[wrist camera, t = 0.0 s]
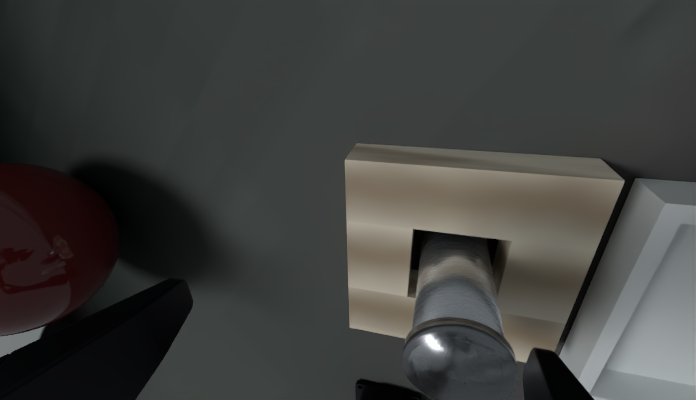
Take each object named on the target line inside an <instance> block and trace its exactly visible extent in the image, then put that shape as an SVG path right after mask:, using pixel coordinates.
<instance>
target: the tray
mask: <svg viewBox="0 0 696 400" xmlns="http://www.w3.org/2000/svg"><path fill="white" fill-rule="evenodd" d="M559 357H560V359H561V360H562V361H563V362H564V363H565V365H566V366H567V367H568V368H569V369H570V371H571V372H572V373H573V374H574V375H575V377H576V378H577V379H578V380H579V381H580V383H581V384H582V385H583V386H584V387H585V389H586V390H587V391H588V392H589V394H590V395H591V396H592V397H593V398H594V400H696V182H684V181H670V180H657V179H643V178H635V180H634V182H633V185H632V187H631V189H630V192H629V194H628V196H627V199H626V201H625V203H624V206H623V208H622V210H621V213H620V215H619V217H618V220H617V222H616V225H615V227H614V229H613V232H612V234H611V236H610V239H609V241H608V243H607V246H606V248H605V250H604V253H603V255H602V257H601V260H600V262H599V264H598V267H597V269H596V271H595V274H594V276H593V278H592V281H591V283H590V285H589V288H588V290H587V292H586V295H585V297H584V299H583V302H582V304H581V306H580V309H579V311H578V313H577V316H576V318H575V320H574V323H573V325H572V327H571V330H570V332H569V334H568V337H567V339H566V341H565V344H564V346H563V348H562V351H561V353H560V356H559Z"/></svg>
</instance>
